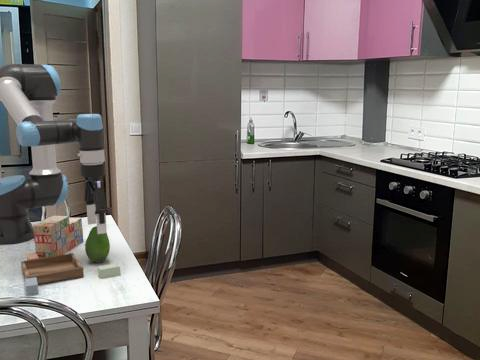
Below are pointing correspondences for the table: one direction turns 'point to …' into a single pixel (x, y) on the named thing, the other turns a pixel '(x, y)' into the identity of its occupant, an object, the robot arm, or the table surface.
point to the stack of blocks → (57, 235)
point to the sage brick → (109, 271)
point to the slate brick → (31, 286)
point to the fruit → (97, 246)
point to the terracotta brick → (32, 256)
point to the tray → (53, 269)
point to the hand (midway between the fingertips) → (96, 228)
